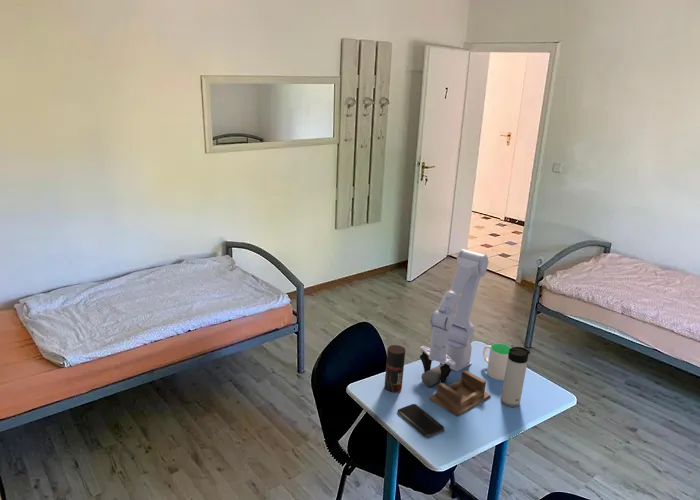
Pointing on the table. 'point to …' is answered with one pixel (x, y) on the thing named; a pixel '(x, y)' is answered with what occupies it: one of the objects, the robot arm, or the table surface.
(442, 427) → the phone
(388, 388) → the deodorant
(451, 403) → the cradle
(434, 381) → the roll
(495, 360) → the mug
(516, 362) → the travel mug
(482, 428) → the table surface
